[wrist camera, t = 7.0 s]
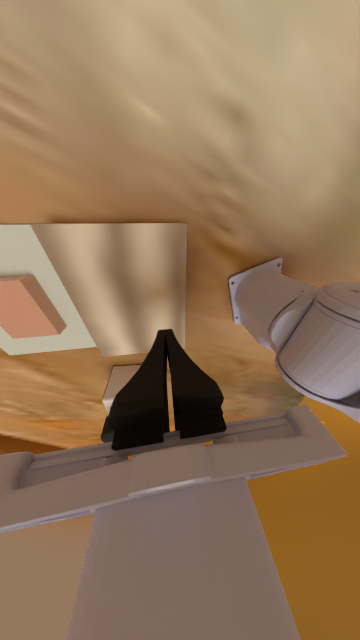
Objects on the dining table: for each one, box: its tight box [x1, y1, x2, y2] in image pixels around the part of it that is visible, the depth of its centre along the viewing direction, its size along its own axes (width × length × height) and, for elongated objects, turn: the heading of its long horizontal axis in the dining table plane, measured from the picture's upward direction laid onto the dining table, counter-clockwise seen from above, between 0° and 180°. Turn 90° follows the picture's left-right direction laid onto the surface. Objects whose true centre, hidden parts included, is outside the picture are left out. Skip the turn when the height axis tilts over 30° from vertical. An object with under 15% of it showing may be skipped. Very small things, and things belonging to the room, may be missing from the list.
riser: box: [30, 223, 187, 357], centre depth 19 cm, size 14×18×3 cm
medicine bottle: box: [101, 365, 141, 443], centre depth 26 cm, size 7×7×12 cm
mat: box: [0, 225, 97, 355], centre depth 18 cm, size 16×18×1 cm
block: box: [0, 275, 67, 339], centre depth 17 cm, size 6×8×2 cm
